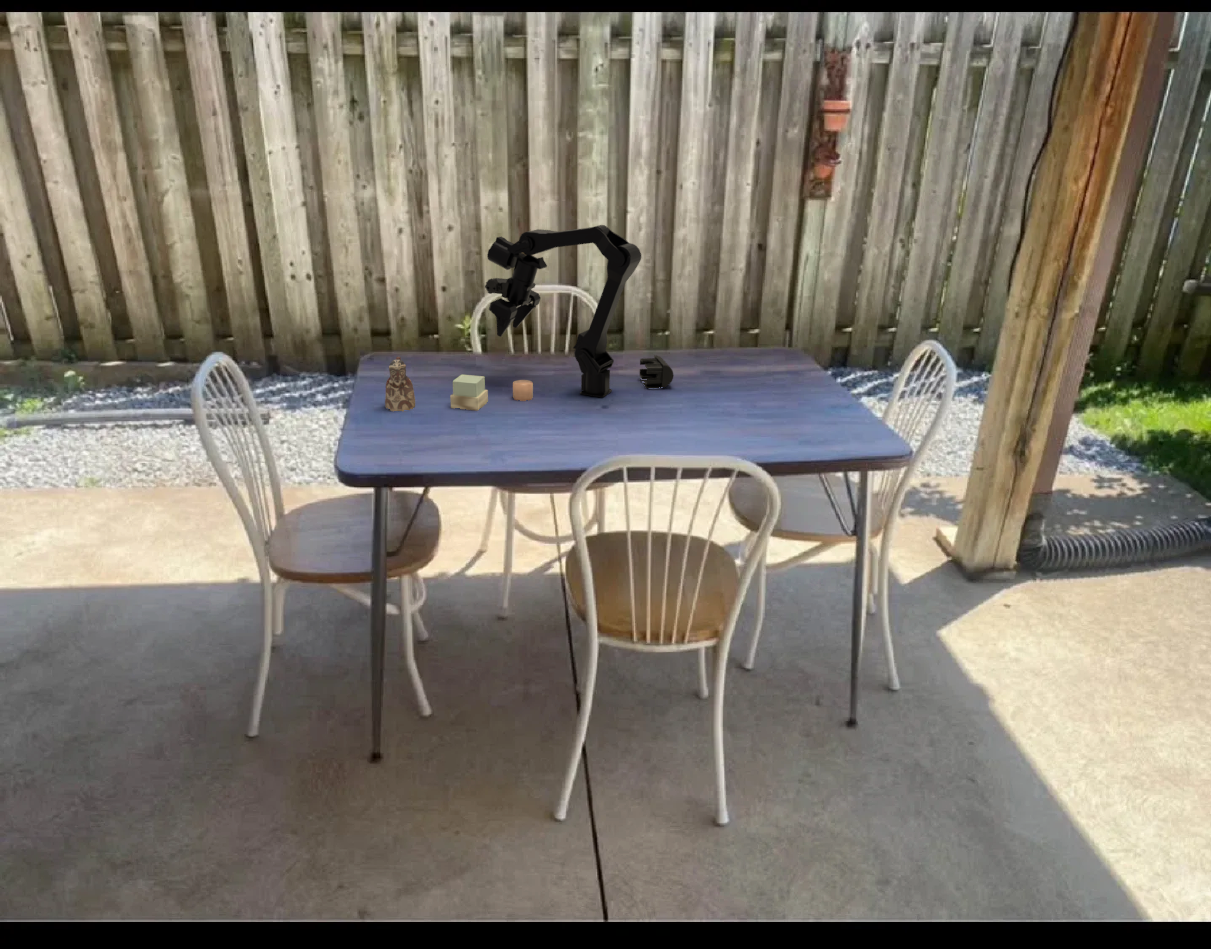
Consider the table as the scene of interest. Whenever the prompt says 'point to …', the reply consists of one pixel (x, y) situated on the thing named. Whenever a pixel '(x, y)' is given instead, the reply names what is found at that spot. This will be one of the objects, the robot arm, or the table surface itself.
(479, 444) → the table surface
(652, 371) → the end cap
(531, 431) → the table surface
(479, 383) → the top block
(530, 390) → the orange-brown short cylinder
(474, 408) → the base block
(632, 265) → the robot arm
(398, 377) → the figurine
